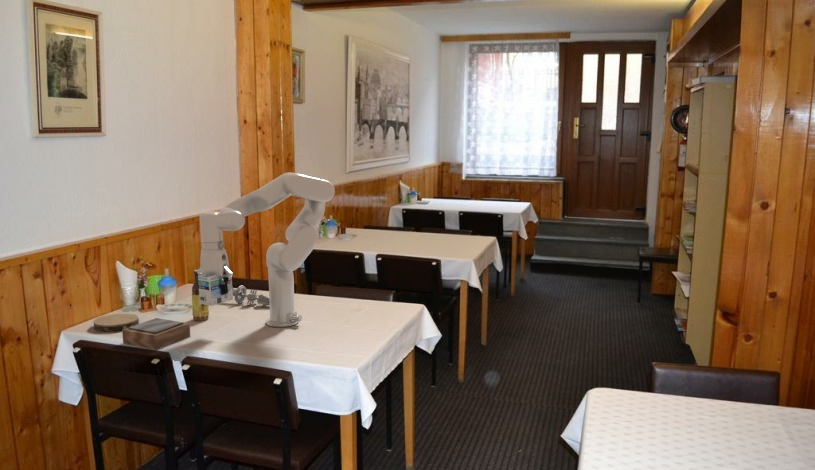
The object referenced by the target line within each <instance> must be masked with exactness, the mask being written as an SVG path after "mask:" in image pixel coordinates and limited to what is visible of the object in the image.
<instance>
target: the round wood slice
mask: <svg viewBox="0 0 815 470" xmlns="http://www.w3.org/2000/svg"><path fill="white" fill-rule="evenodd" d="M137 324H140V322H139V315H137V314H132V313H114V314H113V313H112V314H109V315H103V316H100V317H98V318H96V319H94V320H93V330H94V331H96V332H99V333H117V332H118V333H119V332H122V330H123V329H126V328H129V327H131V326H134V325H137Z"/></svg>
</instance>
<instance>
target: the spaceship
mask: <svg viewBox="0 0 815 470" xmlns="http://www.w3.org/2000/svg"><path fill="white" fill-rule="evenodd" d="M232 291H233V297H234V302H235V303H237V304H241V303H243V302H244V301H245V300H247V303H246V304H247V305H249V306H251V307H253V305H254V303H255V302H256V303H257V304H258V305H262V306H270V304H269V295H268V296H267V295H263V294H257V292H258V290H257V289H252V288H251V289H250V292H248V290H247V288H246V286H244V285H239V286H238V287H237V288H236V289H235V288H234V286H232Z"/></svg>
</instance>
